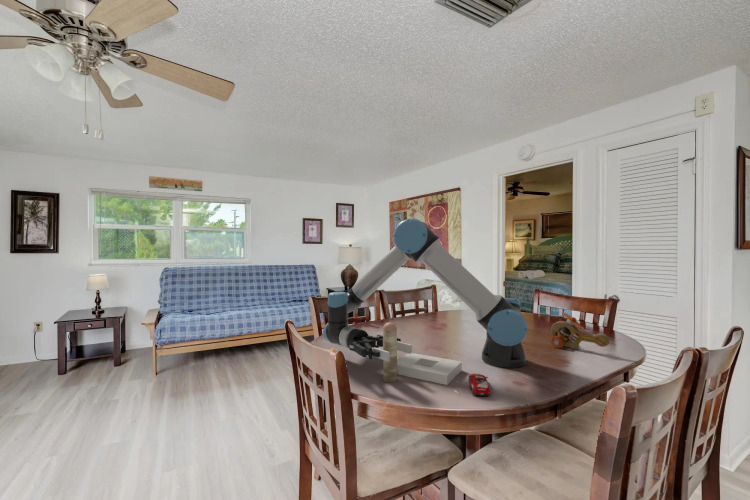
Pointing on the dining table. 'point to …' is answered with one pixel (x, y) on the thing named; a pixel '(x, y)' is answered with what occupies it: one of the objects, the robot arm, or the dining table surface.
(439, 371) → the block
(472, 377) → the race car
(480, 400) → the dining table surface
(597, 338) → the toy helicopter
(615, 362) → the dining table surface
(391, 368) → the round-tipped rod
